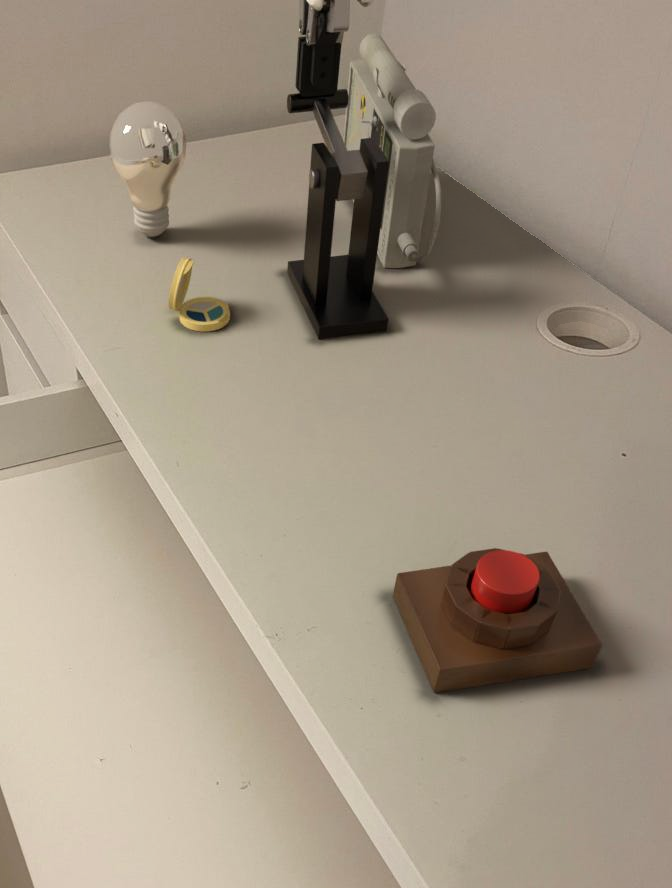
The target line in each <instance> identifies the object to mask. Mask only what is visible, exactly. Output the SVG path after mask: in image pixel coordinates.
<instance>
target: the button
mask: <svg viewBox="0 0 672 888" xmlns="http://www.w3.org/2000/svg"><path fill="white" fill-rule="evenodd" d="M519 553H520V552H516V551H512V550H507V549H503V550H498V551H493V552H489V553H487V554H485V555H484V556H483V557H481V559H480V560H479V561H478V563H477V566H476V570H475V573H474V577H473V580H472V584H471V591H472V595H473V597H474V598H475V600H476V601H477V602H478V603H479V604H481V605H482V606H484V607H485V608H486V609H488V610H491V611H495V612H499V613H504V614H513V613H517V612H520V611H522V610H524V609H526V608H527V607H528V606H529V605H530V603H531V602H532V599H533V596H534V593H535V591H536V588H537V585H538V582H539V578H540V575H539V571H538V569H537V567H536V565H535V564H534V563H533V562H532V561H531V560H530V559H529V558H527V557H525V556H524V555H525V554H524V555H522V554H523V553H521V554H519Z"/></svg>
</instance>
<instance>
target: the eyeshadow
mask: <svg viewBox="0 0 672 888" xmlns="http://www.w3.org/2000/svg"><path fill="white" fill-rule="evenodd" d="M194 264H195V260H194V259H192V258H190V257H189V258H187V257H182V258H181V259H180V260H179V263H178V264H177V267H176V269H175V272H174V275H173V277H172V282H171V286H170V289H169V296H168V308H169V309H170V310H173V311H174V312H178V314H179V315H178V316H179V317H178V319H179V322H180V323H181V324H182V326H184V327H185V328H187V329H188V330H191V331H196V332H213V331H216V330H220V329H222V328H224V327H225V326H227V325H228V324H229V322H230V320H231V311H230V306H229V304H228V303H227V302H226V301H224V300H222V299H220V298H217V297H211V296H201V297H200V296H199V297H194V298H191V299H189V300H186V301H185V298H186V296H187V293H188V291H189V290H188V289H189V287H190V282H191V278H192V272H193V266H194ZM184 301H185V302H184Z"/></svg>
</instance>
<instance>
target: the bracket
mask: <svg viewBox="0 0 672 888" xmlns="http://www.w3.org/2000/svg"><path fill="white" fill-rule="evenodd" d="M360 154H361V156H362V158H363V161H364V163H365V166H366V168H367V170H368V174H367V180H366V185H365V190H364V196H363V198H361V199H354V202H353V208H352V218H351V226H350V234H349V246H348V252H347V253H348V254H342V255H332V247H333V235H334V225H335V212H336V202H337V200H336V193H337V183H338V172H339V166H338V164H337V163H336V161H335V160H334V158H333V156H332V155H331V153H330V152H329V150H328V148H327V146H326V144H325V142H316V143H315V142H314V143H312V144H311V154H310V155H311V156H310V166H309V167H310V169H309V174H308V182H309V183H308V196H307V208H306V209H307V210H306V221H305V222H306V225H305V240H304V251H303V252H304V253H303V259H297V260H296V259H295V260H289V261H287V271H286V274H287V276H288V278H289V280H290V283H291V285H292V286H293V289H294V291H295V294H297V297H298V299H299V301H300V304H301V306H302V308H303V310H304V312H305V314H306V316H307V318H308V320H309V322H310V325H311V327H312V329H313V331H314V333H315V335H316V338H317V340H325V339H334V338H342V337H350V336H358V335H366V334H375V333H376V334H377V333H383V332H387V331H388V326H389V317H388V315H387V314H386V312H385V309H384V308H383V306H382V305H381V302H380V301H379V300H378V298H377V296H376V294H375V293H374V291H373V290H374V289H373V288H374V281H375V275H376V274H375V273H376V265H377V259H378V254H377V251H378V243H379V236H380V228H381V221H382V213H383V205H384V198H385V190H386V182H387V175H388V167H389V160H388V159H387V158H386V156H385V155H384V153H383V152H382V150H381V149H380V148H379V146H378V145H377V143H376V142H375V141H374V139H373V138H365V139H361V141H360Z"/></svg>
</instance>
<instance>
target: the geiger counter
mask: <svg viewBox="0 0 672 888" xmlns="http://www.w3.org/2000/svg"><path fill="white" fill-rule="evenodd" d="M359 55H360V57H361V59H355V60H350V61H349V71H348V82H347V83H348V84H347V91H348V98H349V99H348V106H347V108H345V116H344V126H343V136H342V139H343V141H344V144H345V146H346V149H347V151H351V150H359V151H360V141H361V139H365V138H373V139H374V141H375V142H376V143H377V145H378V146H379V148H380V149H381V150H382V152H383V153H384V155H385V156H386V158H387V159H388V160H389V167H388V175H387V182H386V190H385V198H384V205H383V213H382V221H381V228H380V236H379V243H378V251H377V257H378V258H379V260H380V263H381V265H382V267H383V268H384V269H403V268H408V267H413V266H416V265H417V262H420V261H423V260H425V259H426V258H427V257H428V256H429V255H430V254H431V252H432V250H433V248H434V247H433V246H434V244H435V240H436V237H437V235H438V232H439V231H438V230H439V225H440V219H441V211H442V188H441V187H442V186H441V180H440V175H439V173H438V169H437V166H436V163H435V160H434V152H435V146H436V145H435V143H434V141H433V139H432V138H431V136H430V134H429V133H430V132H431V131H432V130H433V128H434V126H435V123H436V118H437V113H436V110H435V107H434V106H433V105H432V103H431V102H430V100H429V99H428V97H427V96H426V95H425V93H424V92H423V91H422V90H420V89H417V88H416V87H415V85H414V84H413V82H412V80H411V79H410V77H408V75H407V73H406V70H407V66H406V65H405V64H404V63H402V64H401V63H400V61H399V60H397V57H396V56H395V55H394V53H393V52H392V51H391V49H390V47H389V46H388V44H387V43H386V41H385V39H384V38H383V37H382V35H381V34H379V33H370V34H367V35H366V36H365V37H364V38H363V39H362V40H361V42H360V44H359ZM431 174H432V177H433V181H434V186H435V187H434V188H435V212H434V219H433V225H432V231H431V233H430V237H429V240H428V243H427V246H426V248H425V251H424V252H422V253H421V254H420V252H419V248H420V242H421V241H420V240H421V235H422V228H423V222H424V216H425V209H426V204H427V197H428V190H429V186H430V185H429V184H430V178H431ZM351 201H352V202H353V203H354V199H352V200H351Z"/></svg>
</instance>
